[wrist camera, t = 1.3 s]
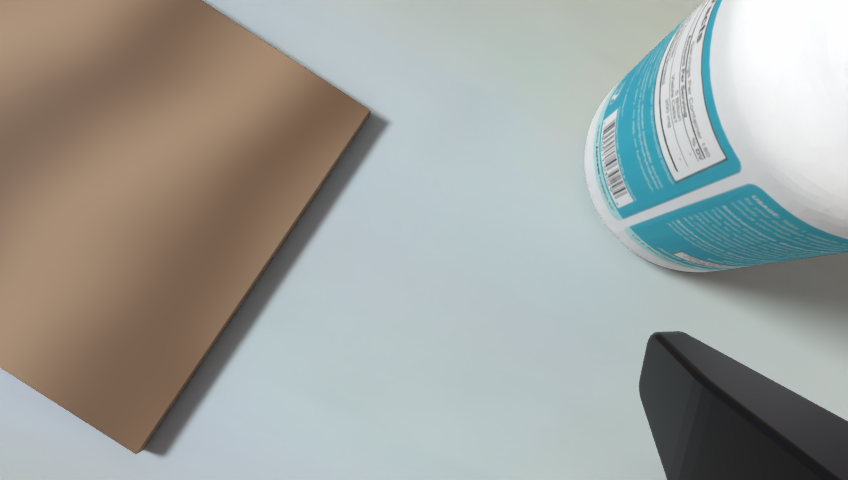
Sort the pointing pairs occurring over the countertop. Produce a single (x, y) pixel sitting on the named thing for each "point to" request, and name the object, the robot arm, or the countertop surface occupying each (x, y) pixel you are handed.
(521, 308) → the countertop surface
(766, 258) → the pill bottle
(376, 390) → the countertop surface
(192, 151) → the walnut board
